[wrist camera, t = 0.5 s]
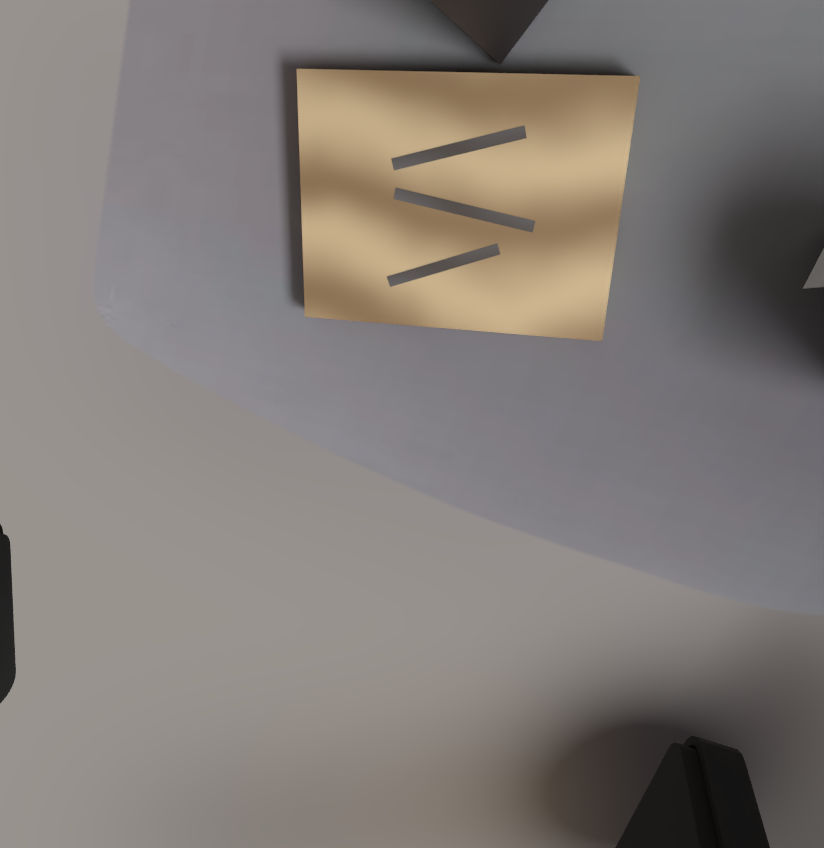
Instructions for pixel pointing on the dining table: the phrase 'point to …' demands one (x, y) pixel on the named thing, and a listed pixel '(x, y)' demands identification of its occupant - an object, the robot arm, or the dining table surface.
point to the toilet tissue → (816, 274)
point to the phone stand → (492, 21)
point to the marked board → (463, 197)
